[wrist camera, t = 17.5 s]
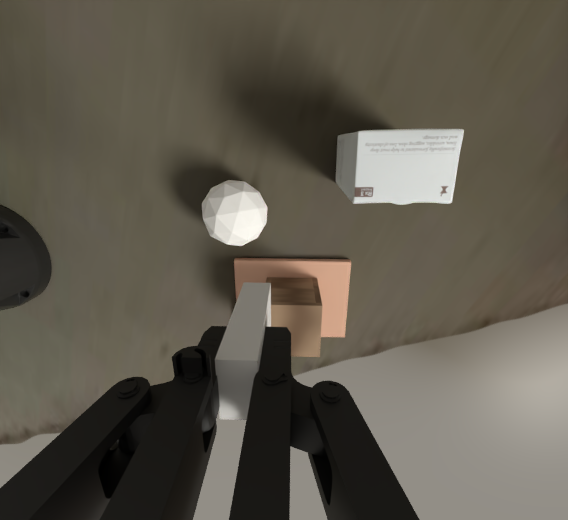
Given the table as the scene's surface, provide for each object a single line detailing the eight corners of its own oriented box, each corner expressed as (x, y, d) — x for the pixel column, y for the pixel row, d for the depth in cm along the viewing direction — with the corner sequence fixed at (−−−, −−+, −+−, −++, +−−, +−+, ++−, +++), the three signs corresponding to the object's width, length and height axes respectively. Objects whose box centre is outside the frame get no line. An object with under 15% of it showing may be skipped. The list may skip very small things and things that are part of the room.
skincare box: (403, 134, 36) (473, 122, 22) (397, 185, 38) (458, 205, 24) (333, 135, 36) (358, 125, 22) (331, 186, 38) (353, 206, 24)
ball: (233, 192, 42) (212, 157, 34) (283, 214, 40) (272, 181, 32) (204, 238, 40) (176, 212, 33) (255, 264, 38) (237, 242, 30)
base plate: (239, 331, 46) (238, 335, 45) (235, 257, 42) (234, 260, 41) (343, 333, 46) (344, 337, 45) (349, 259, 42) (351, 261, 41)
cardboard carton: (267, 320, 44) (262, 355, 37) (266, 277, 42) (261, 304, 34) (315, 321, 44) (319, 356, 36) (317, 277, 42) (322, 305, 34)
